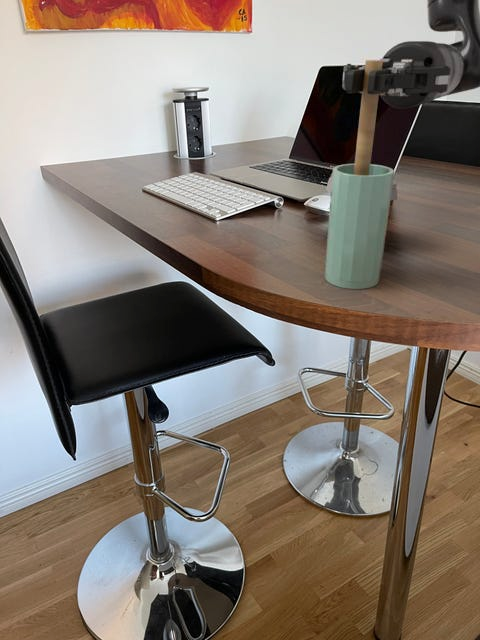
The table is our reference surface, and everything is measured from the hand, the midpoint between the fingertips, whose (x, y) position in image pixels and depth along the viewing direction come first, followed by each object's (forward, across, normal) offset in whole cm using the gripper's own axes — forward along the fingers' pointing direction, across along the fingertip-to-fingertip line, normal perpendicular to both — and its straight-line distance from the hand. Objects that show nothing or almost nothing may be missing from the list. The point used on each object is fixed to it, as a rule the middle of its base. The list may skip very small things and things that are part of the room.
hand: (360, 82), depth 52 cm
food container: (-14, -6, +24) cm, 28 cm away
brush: (-3, 0, +18) cm, 18 cm away
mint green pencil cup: (-3, 0, +24) cm, 24 cm away
